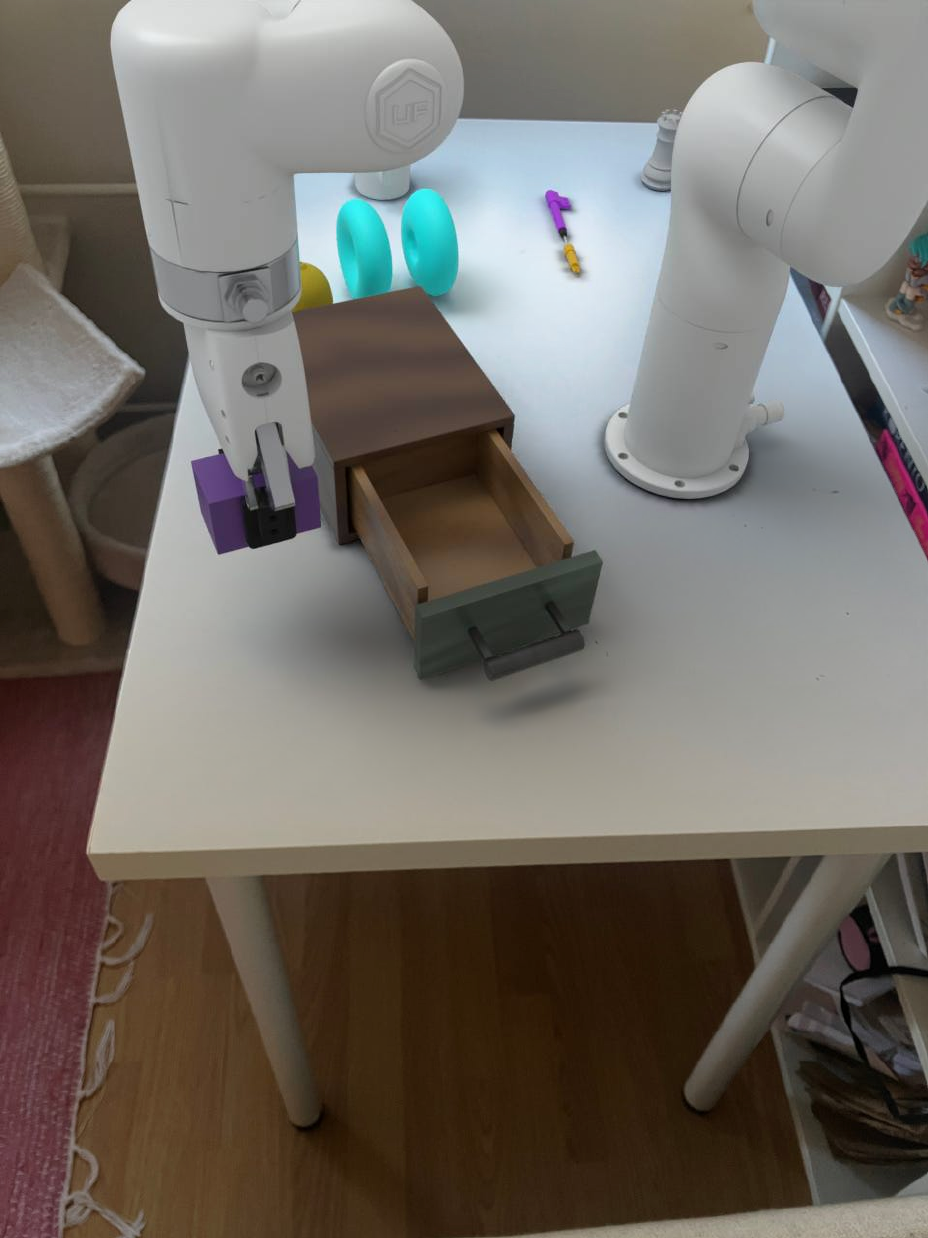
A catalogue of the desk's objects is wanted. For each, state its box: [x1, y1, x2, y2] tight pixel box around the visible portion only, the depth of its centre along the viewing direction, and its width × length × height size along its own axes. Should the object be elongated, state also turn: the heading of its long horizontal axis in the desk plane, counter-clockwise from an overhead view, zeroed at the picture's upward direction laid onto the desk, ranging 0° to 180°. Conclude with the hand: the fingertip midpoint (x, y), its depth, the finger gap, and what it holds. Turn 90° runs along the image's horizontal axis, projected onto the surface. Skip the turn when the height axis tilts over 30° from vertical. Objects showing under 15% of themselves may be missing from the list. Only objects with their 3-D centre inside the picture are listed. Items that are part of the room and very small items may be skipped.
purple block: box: [190, 451, 322, 556], centre depth 65 cm, size 7×4×5 cm, turn 115°
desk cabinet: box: [292, 285, 516, 545], centre depth 84 cm, size 19×15×9 cm
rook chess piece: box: [640, 109, 683, 192], centre depth 116 cm, size 4×4×8 cm
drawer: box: [345, 429, 604, 682], centre depth 74 cm, size 22×14×7 cm, turn 24°
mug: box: [353, 164, 412, 201], centre depth 110 cm, size 10×7×12 cm, turn 7°
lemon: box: [291, 261, 334, 312], centre depth 93 cm, size 6×6×8 cm
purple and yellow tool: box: [544, 189, 581, 274], centre depth 110 cm, size 3×1×16 cm
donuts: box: [335, 188, 460, 299], centre depth 98 cm, size 10×10×10 cm
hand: (260, 513), depth 66 cm, fingers closed on purple block, 4 cm apart
